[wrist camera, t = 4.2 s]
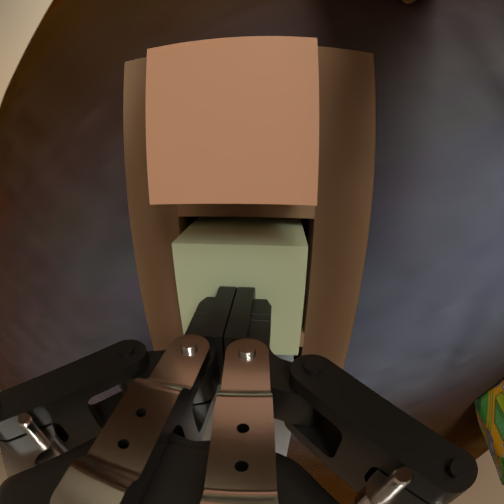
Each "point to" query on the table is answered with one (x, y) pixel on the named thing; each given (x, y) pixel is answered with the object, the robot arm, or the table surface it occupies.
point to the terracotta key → (233, 121)
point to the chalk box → (493, 424)
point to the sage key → (246, 268)
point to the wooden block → (408, 1)
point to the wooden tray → (273, 207)
